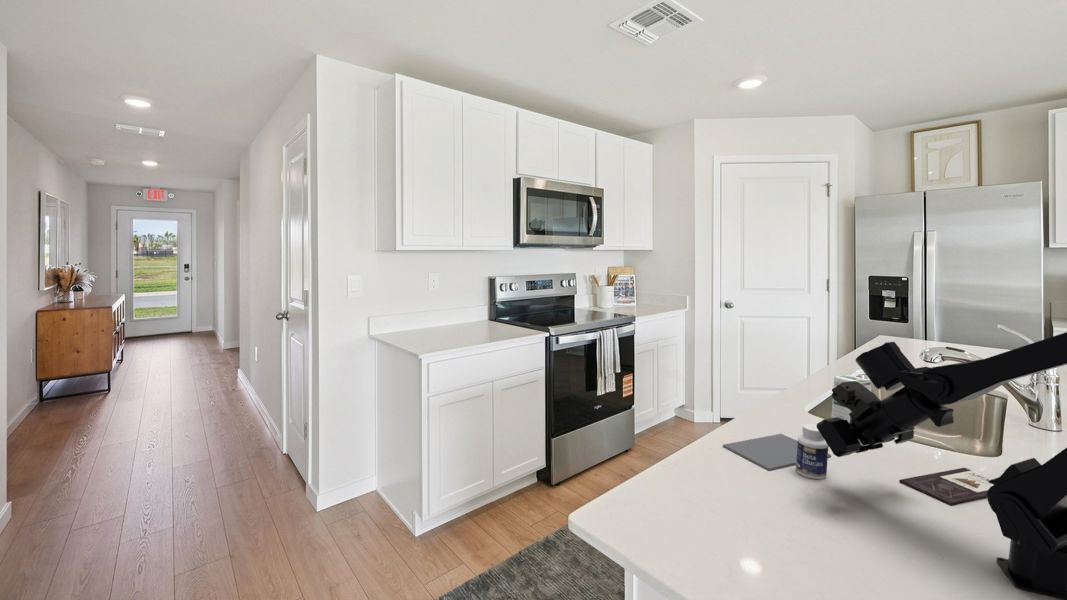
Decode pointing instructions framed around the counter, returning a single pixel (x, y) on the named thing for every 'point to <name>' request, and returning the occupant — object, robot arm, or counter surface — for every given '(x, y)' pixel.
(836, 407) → the syrup box
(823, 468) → the pill bottle
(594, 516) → the counter surface
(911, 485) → the chocolate bar
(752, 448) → the mat
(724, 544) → the counter surface
